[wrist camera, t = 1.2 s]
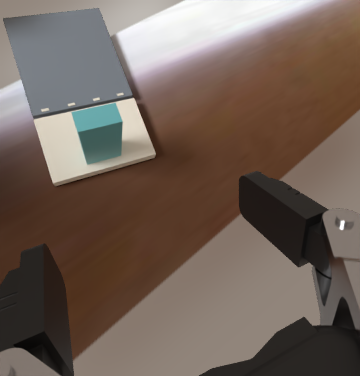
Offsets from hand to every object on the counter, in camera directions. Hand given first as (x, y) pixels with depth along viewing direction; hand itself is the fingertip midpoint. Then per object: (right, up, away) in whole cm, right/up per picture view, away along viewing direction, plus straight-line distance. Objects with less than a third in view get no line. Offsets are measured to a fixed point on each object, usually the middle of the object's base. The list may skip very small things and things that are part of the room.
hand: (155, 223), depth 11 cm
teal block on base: (-9, +7, +23) cm, 26 cm away
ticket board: (-13, +18, +25) cm, 33 cm away
